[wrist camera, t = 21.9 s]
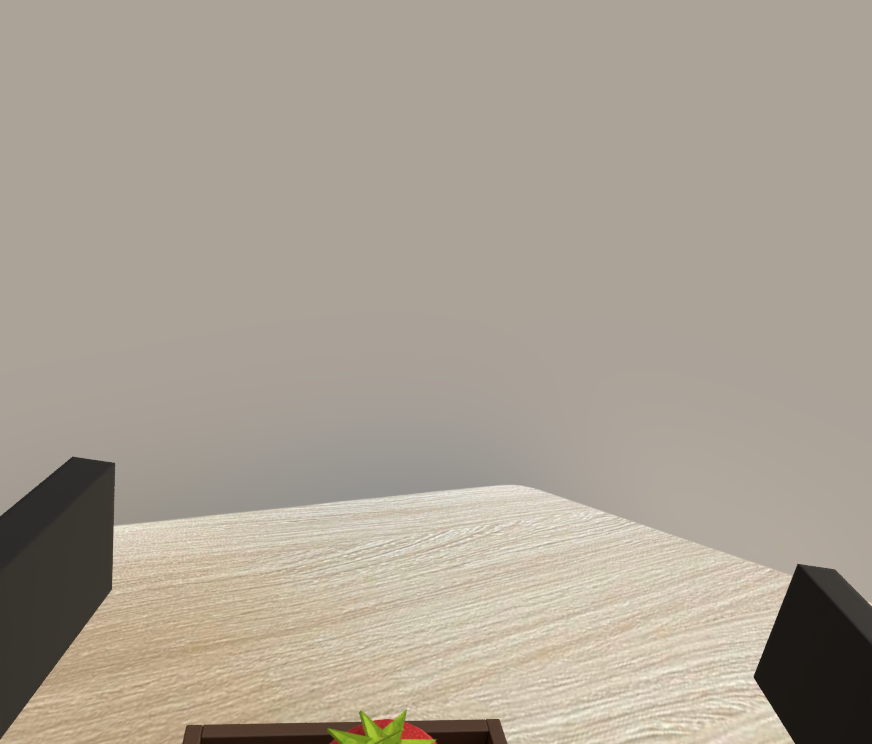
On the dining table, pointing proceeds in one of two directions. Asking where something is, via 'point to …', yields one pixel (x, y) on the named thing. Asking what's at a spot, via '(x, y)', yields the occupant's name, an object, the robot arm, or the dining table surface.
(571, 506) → the dining table surface
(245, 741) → the tray
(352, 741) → the strawberry
